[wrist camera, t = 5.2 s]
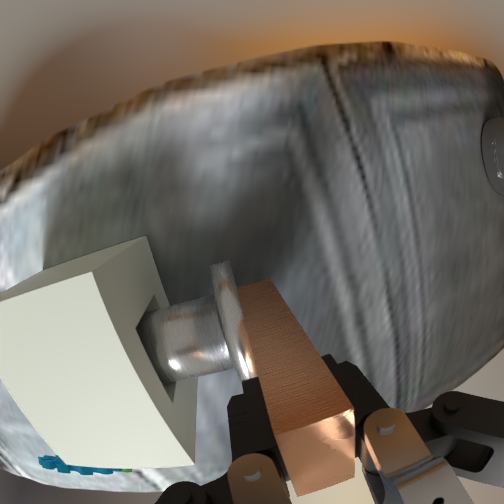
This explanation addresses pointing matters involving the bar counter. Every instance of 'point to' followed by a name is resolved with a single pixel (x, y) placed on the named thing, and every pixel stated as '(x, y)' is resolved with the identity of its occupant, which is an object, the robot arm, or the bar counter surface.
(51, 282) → the block
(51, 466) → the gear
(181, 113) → the bar counter surface
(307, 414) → the wood and metal l-shape
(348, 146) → the bar counter surface
